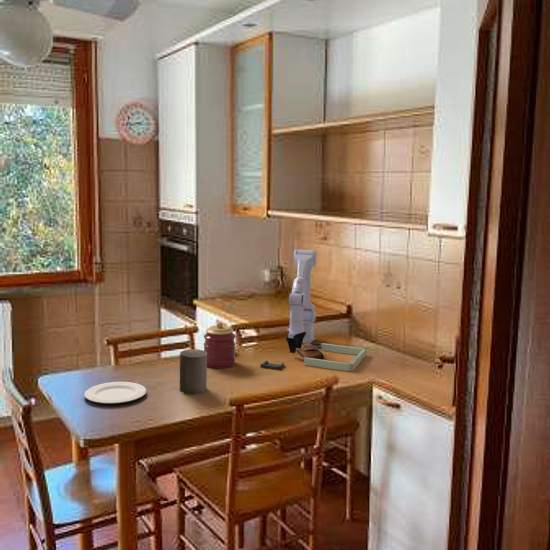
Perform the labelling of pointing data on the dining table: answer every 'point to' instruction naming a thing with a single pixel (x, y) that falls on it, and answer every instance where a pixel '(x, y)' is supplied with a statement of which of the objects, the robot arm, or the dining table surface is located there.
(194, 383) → the pillar candle
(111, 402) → the plate
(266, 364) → the front trap pocket
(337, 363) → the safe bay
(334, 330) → the dining table surface
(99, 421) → the dining table surface
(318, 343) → the rear trap pocket
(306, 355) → the sunglasses case
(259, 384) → the dining table surface
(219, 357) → the canister
